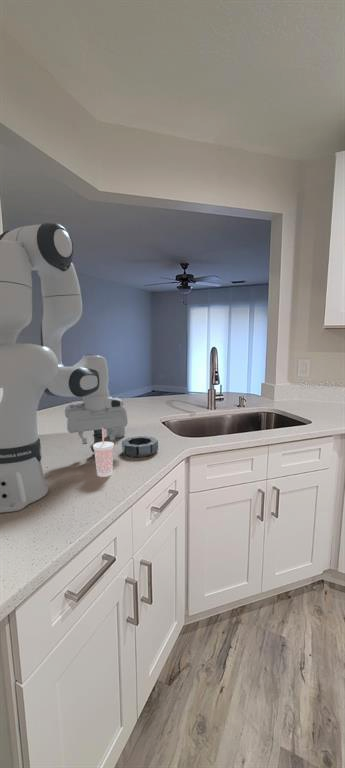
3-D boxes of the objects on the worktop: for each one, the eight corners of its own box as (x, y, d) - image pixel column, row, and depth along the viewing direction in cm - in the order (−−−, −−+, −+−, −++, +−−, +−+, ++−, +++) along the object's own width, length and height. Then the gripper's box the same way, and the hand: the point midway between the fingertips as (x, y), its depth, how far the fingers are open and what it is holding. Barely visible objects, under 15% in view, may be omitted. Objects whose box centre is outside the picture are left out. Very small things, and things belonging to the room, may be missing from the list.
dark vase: (104, 458, 113) (102, 424, 112) (87, 458, 115) (85, 423, 113) (110, 453, 119) (109, 419, 118) (95, 452, 120) (93, 419, 119)
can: (127, 433, 143) (125, 405, 142) (122, 439, 136) (121, 409, 134) (109, 433, 144) (108, 406, 142) (104, 438, 136) (103, 409, 135)
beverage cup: (93, 471, 102) (90, 426, 101) (113, 468, 105) (111, 424, 103) (96, 479, 97) (93, 431, 95) (117, 475, 99) (115, 429, 97)
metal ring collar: (127, 459, 112) (127, 448, 112) (119, 448, 123) (119, 438, 123) (161, 454, 116) (161, 443, 116) (151, 444, 128) (151, 434, 127)
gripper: (65, 406, 108) (67, 448, 110) (127, 401, 115) (129, 440, 117) (63, 403, 114) (66, 443, 116) (123, 398, 121) (125, 435, 123)
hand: (98, 441), depth 116 cm, fingers open, 8 cm apart
